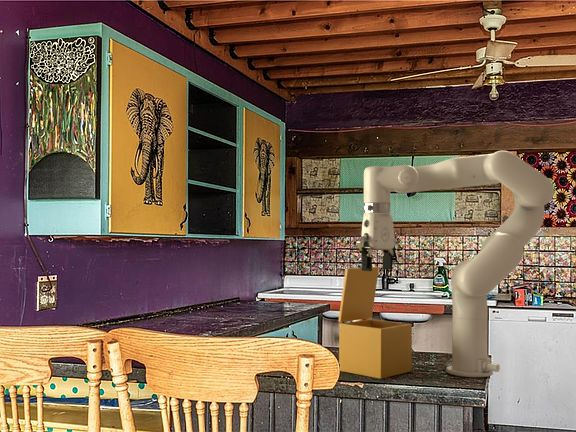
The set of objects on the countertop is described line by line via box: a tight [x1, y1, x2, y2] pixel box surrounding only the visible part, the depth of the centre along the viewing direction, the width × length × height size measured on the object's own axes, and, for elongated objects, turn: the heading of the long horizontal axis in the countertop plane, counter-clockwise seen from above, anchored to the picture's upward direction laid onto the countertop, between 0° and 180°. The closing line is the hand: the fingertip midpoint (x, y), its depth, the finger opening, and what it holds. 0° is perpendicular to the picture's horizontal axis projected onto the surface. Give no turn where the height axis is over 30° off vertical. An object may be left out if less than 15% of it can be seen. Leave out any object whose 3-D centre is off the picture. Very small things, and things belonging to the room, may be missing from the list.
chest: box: [338, 318, 413, 380], centre depth 194 cm, size 15×15×13 cm
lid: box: [337, 266, 380, 323], centre depth 200 cm, size 15×15×5 cm
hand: (377, 270), depth 194 cm, fingers open, 9 cm apart
